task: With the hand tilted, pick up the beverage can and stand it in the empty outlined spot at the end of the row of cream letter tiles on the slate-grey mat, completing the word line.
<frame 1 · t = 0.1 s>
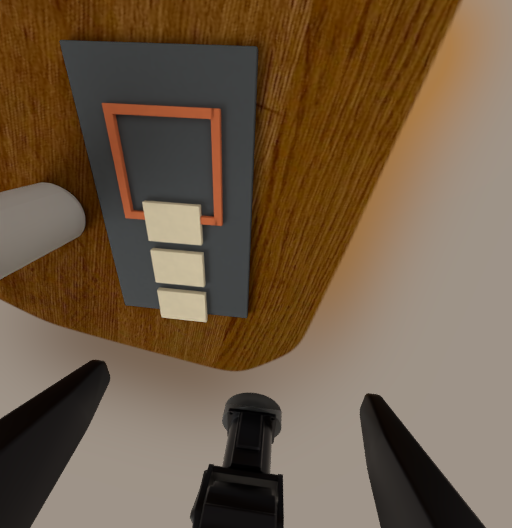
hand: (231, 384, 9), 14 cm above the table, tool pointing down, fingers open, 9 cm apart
beverage can: (63, 209, 22), on the table
word mat: (176, 207, 20), on the table
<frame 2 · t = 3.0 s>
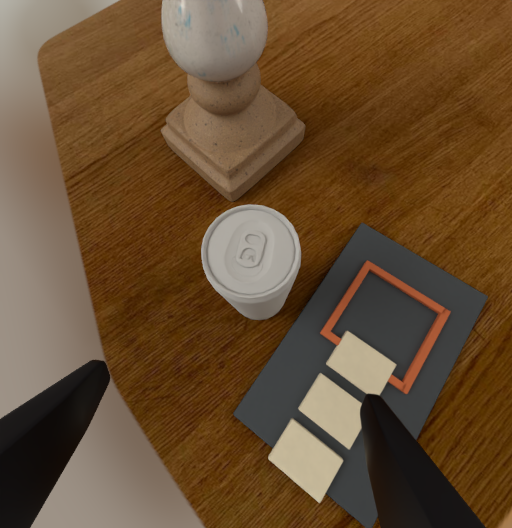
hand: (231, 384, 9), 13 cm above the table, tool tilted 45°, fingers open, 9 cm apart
beverage can: (259, 293, 23), on the table
candle holder: (234, 142, 28), on the table
word mat: (363, 352, 21), on the table
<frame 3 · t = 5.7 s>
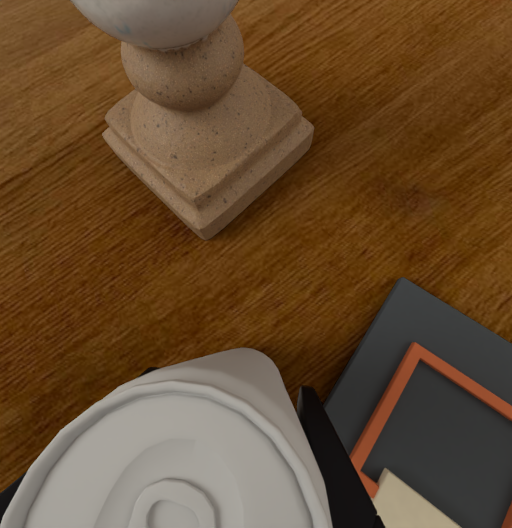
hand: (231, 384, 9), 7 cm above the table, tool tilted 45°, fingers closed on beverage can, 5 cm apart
beverage can: (243, 390, 15), on the table, touching gripper
candle holder: (212, 150, 20), on the table
word mat: (412, 503, 13), on the table
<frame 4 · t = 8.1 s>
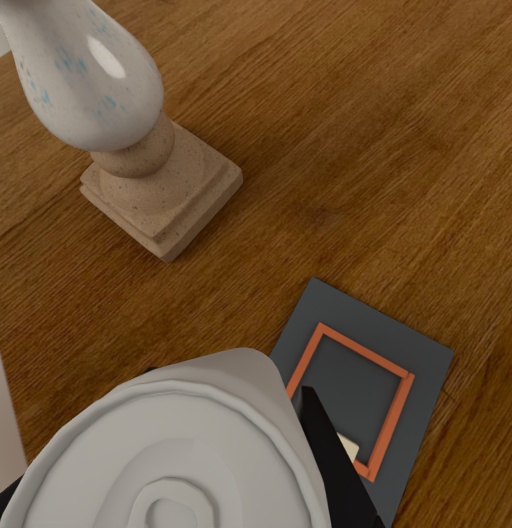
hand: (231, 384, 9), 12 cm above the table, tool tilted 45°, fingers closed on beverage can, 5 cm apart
beverage can: (243, 390, 15), point 5 cm above the table, touching gripper
candle holder: (168, 191, 25), on the table
word mat: (323, 431, 19), on the table
when the fingers open (8 cm above the table, at t = 10.9 s): beverage can stays where it is, resting on word mat.
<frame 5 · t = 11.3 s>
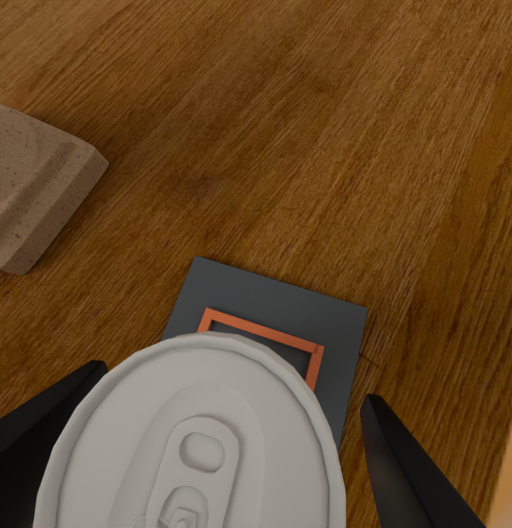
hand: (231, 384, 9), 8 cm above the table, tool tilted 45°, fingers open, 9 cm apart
beverage can: (243, 395, 15), point 1 cm above the table, touching word mat
candle holder: (21, 191, 21), on the table
word mat: (228, 440, 15), on the table
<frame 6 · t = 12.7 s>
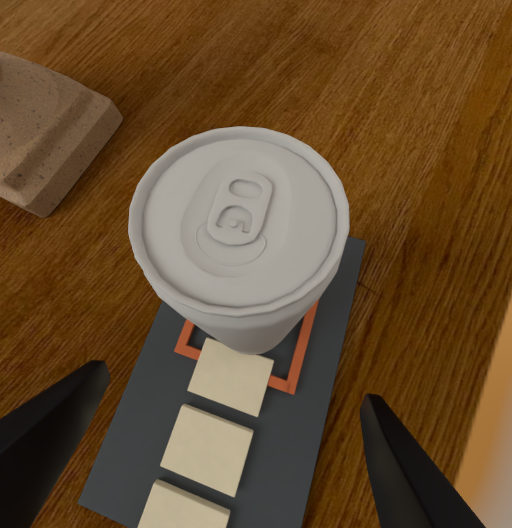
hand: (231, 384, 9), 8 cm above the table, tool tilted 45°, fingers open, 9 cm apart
beverage can: (251, 316, 17), point 1 cm above the table, touching word mat
candle holder: (40, 144, 22), on the table
word mat: (238, 357, 17), on the table
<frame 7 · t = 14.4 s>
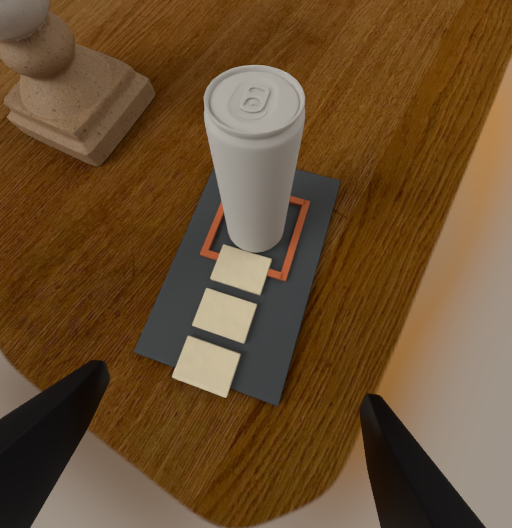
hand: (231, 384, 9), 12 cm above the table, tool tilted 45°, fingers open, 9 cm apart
beverage can: (255, 231, 23), point 1 cm above the table, touching word mat
candle holder: (91, 113, 28), on the table
word mat: (245, 261, 23), on the table
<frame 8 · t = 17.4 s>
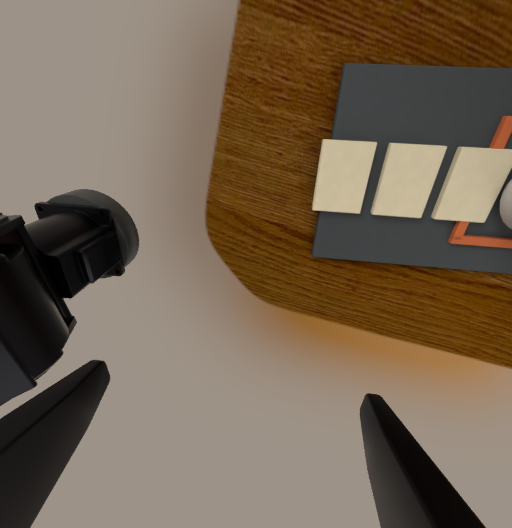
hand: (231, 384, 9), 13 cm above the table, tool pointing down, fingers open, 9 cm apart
word mat: (479, 184, 17), on the table
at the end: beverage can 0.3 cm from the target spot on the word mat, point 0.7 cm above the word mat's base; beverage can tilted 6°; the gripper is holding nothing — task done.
